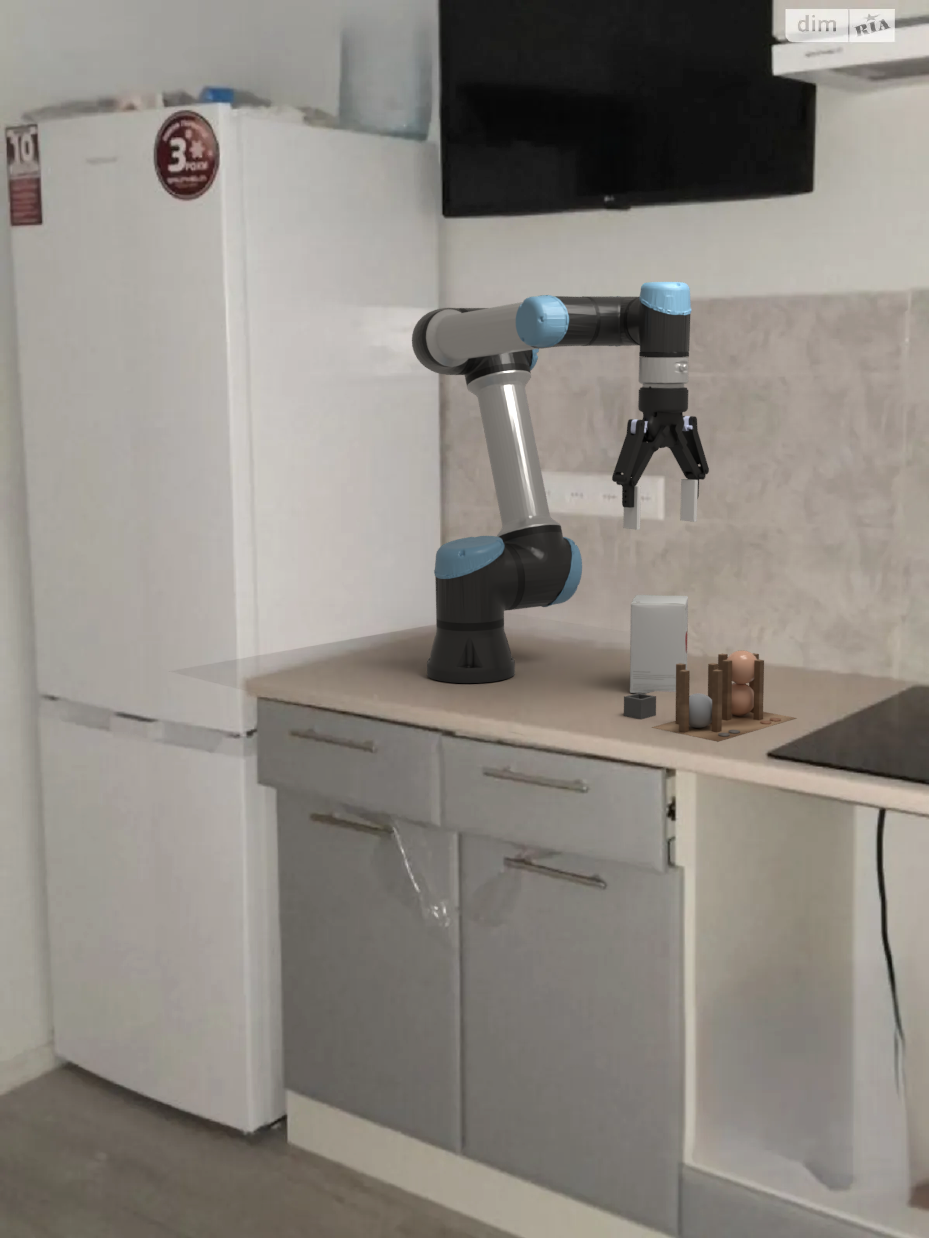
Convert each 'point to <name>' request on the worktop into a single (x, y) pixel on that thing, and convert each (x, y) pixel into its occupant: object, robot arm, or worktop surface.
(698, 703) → the ball
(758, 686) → the rack
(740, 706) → the ball
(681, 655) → the supplement box
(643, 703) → the stand
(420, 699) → the worktop surface
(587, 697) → the worktop surface
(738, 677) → the ball loose
